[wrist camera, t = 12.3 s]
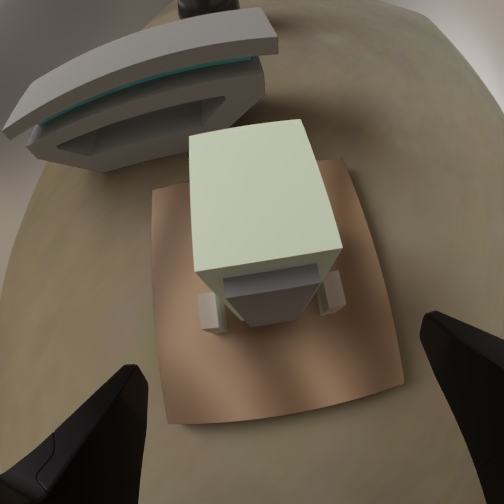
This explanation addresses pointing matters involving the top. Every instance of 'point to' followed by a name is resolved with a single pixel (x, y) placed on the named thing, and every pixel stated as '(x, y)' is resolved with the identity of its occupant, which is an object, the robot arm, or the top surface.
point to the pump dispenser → (204, 7)
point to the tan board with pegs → (270, 325)
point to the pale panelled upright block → (260, 219)
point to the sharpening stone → (147, 91)
